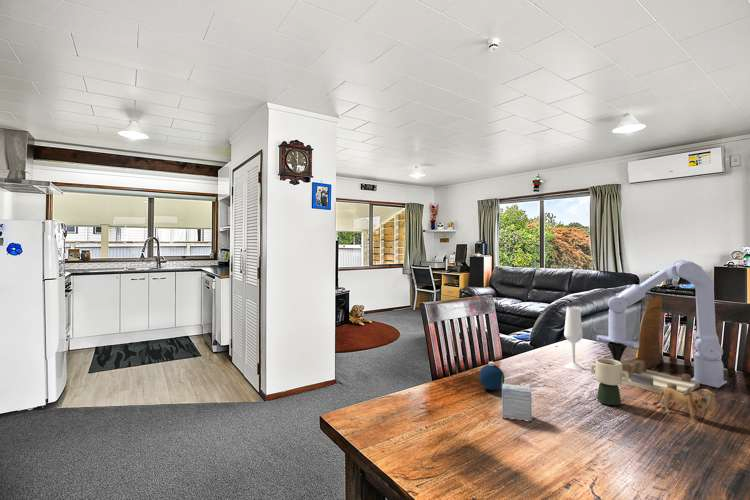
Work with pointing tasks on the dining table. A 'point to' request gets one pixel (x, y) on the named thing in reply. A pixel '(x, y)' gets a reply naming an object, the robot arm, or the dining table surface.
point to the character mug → (609, 380)
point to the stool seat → (661, 382)
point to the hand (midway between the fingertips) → (617, 362)
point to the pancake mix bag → (650, 333)
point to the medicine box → (516, 402)
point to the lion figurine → (688, 400)
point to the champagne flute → (573, 332)
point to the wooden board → (634, 366)
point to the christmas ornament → (491, 376)
